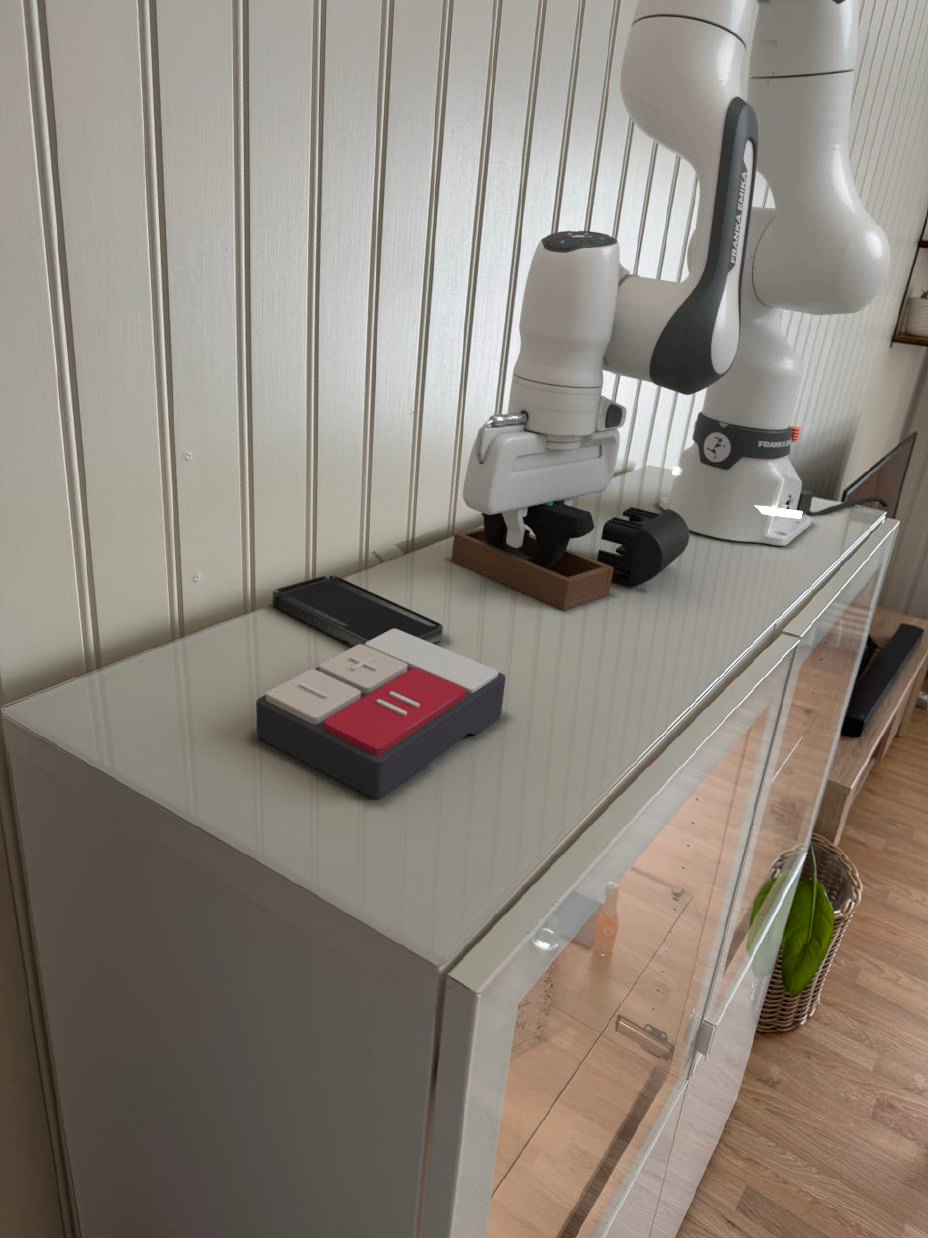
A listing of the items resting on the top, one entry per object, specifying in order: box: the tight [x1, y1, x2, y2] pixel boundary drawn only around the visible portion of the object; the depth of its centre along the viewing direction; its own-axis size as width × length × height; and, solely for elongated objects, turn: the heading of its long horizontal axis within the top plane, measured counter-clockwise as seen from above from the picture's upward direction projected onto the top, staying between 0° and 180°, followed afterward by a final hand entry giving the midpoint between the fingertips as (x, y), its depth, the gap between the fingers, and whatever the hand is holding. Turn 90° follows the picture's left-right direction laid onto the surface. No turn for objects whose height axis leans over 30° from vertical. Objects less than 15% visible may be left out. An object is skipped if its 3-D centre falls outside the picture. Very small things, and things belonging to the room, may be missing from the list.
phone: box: [272, 575, 444, 647], centre depth 83 cm, size 8×1×15 cm
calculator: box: [255, 629, 506, 800], centre depth 66 cm, size 11×4×15 cm
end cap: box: [596, 506, 690, 588], centre depth 102 cm, size 10×7×7 cm
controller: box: [481, 501, 595, 568], centre depth 96 cm, size 4×12×10 cm, turn 56°
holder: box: [451, 526, 614, 611], centre depth 98 cm, size 8×16×3 cm, turn 46°
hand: (532, 541), depth 97 cm, fingers closed on controller, 4 cm apart
